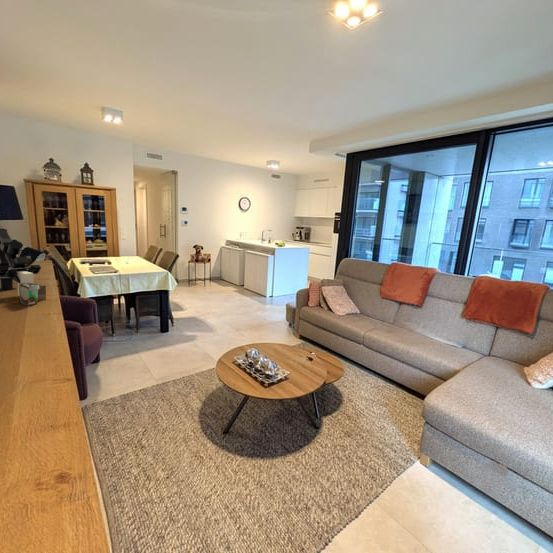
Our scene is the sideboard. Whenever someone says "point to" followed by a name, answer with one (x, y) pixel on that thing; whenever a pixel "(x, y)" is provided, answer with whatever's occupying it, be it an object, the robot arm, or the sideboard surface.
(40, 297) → the dispenser
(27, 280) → the white upright block
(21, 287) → the food container
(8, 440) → the sideboard surface
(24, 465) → the sideboard surface
